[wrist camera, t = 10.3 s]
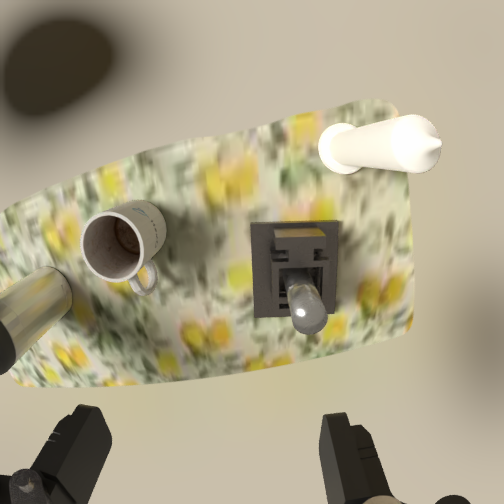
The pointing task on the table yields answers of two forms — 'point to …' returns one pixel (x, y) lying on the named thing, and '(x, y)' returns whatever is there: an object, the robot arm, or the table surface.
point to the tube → (304, 301)
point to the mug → (124, 243)
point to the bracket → (292, 262)
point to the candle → (381, 146)
